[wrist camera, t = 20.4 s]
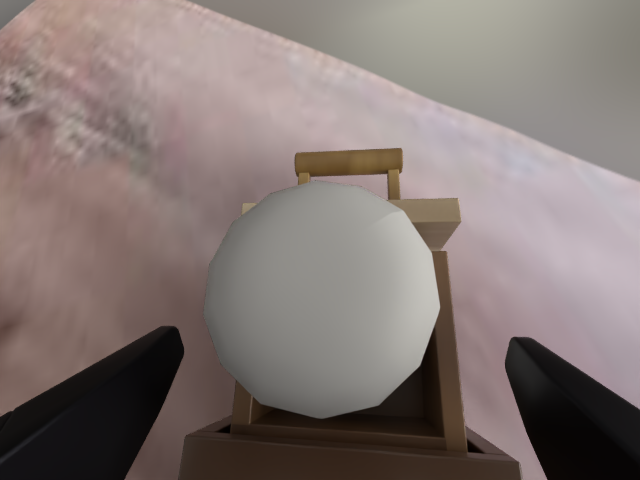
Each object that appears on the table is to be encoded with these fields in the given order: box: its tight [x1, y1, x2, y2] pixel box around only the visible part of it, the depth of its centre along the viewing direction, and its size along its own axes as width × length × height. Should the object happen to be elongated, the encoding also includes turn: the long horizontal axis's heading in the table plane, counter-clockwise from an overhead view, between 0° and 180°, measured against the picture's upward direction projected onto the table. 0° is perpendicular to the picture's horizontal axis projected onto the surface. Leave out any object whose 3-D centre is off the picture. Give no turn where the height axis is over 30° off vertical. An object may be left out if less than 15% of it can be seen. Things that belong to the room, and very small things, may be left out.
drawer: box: [230, 148, 468, 452], centre depth 17 cm, size 15×10×5 cm
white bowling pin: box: [203, 180, 440, 419], centre depth 11 cm, size 6×6×13 cm
